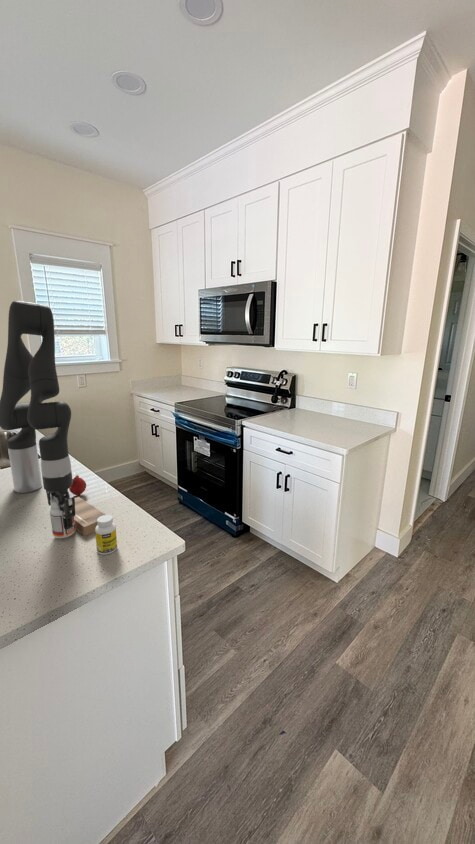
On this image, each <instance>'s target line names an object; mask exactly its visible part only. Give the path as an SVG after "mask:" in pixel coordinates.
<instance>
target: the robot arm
mask: <svg viewBox="0 0 475 844" xmlns="http://www.w3.org/2000/svg"><path fill="white" fill-rule="evenodd" d="M7 325H8V326H7V347H6V354H5V360H4V361H5V362H4V367H3V377H2V379H3V380H2V391H1V395H0V428H1V429H2V430H4V431H13V430H19V429H20V431H18V433H16V434H14V435H13V436H11V437H10V438H8V439H7V440H6V447H7V451H8V457H9V464H10V470H11V476H12V482H13V489H14V492H15V493H18V494H27V493H32V492H35V491H37V490H39V489H40V488H42V486H43V489H44V490H45V493H46V497H47V505H48V506H49V507H50V509H51V508H52V507H51V504H50V500H51V499H54V500H55V502H56V503H57V506H58V510H59V511H61V513H62V517H63V524H64V529H66V530H67V529H69V528H71V527H72V526H73V524H72V517H73V516H75V499H74V498H75V497H74V496H73V497H71V495H70V491H69V488H70V487H71V486H72V484H73V480H72V479H73V473H72V471H73V470H72V463H71V458H70V455H69V447H68V436H69V429H70V424H71V419H72V409H71V407H70V405H69V404H68V403H67V402H65V401H51V402H49V401H48V402H44V401H46V400H50V399H52V398H55V397H57V396H58V395H59V394H60V383H59V381H58V380H59V379H58V373H57V368H56V366H57V365H56V343H55V340H56V339H55V320H54V314H53V312H52V308H51V307H50V306H48V305H46V304H41V303H37V302H30V301H23V300H14V301H12V302H11V303H10V305H9V310H8V324H7ZM22 335H31V336H39V337H42V338H41V339H42V341H41V344H40V346H39V347H38V350H37V351H36V353H34V355H32V353H31V352H30V351H29V350H28V348H27V347H26V345H25V343H24V341H23V339H22ZM29 392H30V399H29V400H30V402H19V401H20V400H21V399H22V398H23V397H24V396H26V394H28V393H29ZM56 428H57V429H56ZM46 429H56V431H54V432H53V433H50V434H47V435H45V436H43V437H41V438H39V441H38V447H39V453H38V447H37V433H36V430H46ZM39 457H40V460H39ZM60 504H61V505H63V504H64V507H61V505H60ZM64 510H65V512H64Z"/></svg>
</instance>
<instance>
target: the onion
mask: <svg viewBox="0 0 475 844" xmlns="http://www.w3.org/2000/svg"><path fill="white" fill-rule="evenodd" d="M72 480H73V484H72V486H71V487H70V488H69V489H68V491H69V493H71V494H72V495H75V496H77V497H80V495H82V494H83V493H85V491H86V489H87V483H86V481H85V480H84V479H83V478H82V477H80V475H79V474H77V475H75V476H74V477H73V478H72Z"/></svg>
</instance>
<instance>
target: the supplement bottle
mask: <svg viewBox="0 0 475 844" xmlns="http://www.w3.org/2000/svg"><path fill="white" fill-rule="evenodd" d="M113 521H114V520H113V516H112V515H110V514H105V515H103V516H100V517H99V518H98V519H97V524H98V525H97V526H96V528H95V532H94V533H95V543H96V551H97V553H98V554H100V555H103V556H104V555H110V554H112V553H114V552H115V551H116V550H117V548H118V538H117V526H116V524H115V523H114V522H113Z"/></svg>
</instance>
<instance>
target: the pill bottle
mask: <svg viewBox="0 0 475 844" xmlns="http://www.w3.org/2000/svg"><path fill="white" fill-rule="evenodd" d="M50 504H51V505H50V509H49V515H50V517H49V518H50V523H51V531H52V535H53V537H55V538H57V539H64V538H68V537H70V536H72V535H73V534H75V532H76V528H75V520H74V516H73V517H72V524H73V526H72V527H71V528H69V529H67V530H66V529H64V524H63V517H62V513H61V511H59V510H58V506H57V503H56V502H55V500H54V499H51V500H50ZM60 505H61V504H60ZM51 507H52V508H51ZM61 507H64V504H63V505H61ZM64 512H65V510H64Z"/></svg>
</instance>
